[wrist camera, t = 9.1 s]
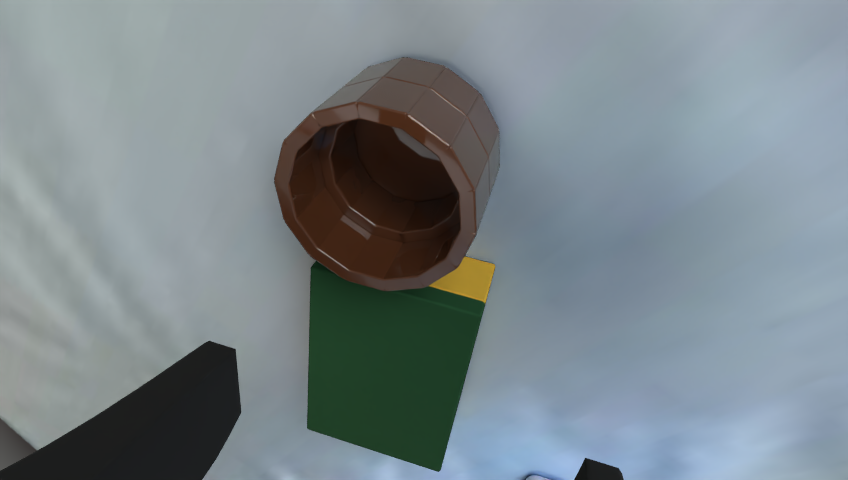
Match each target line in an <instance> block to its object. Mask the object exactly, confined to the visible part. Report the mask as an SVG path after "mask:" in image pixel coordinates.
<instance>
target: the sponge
mask: <svg viewBox="0 0 848 480" xmlns="http://www.w3.org/2000/svg"><path fill="white" fill-rule="evenodd" d="M494 270H495V265H494V264H491V263H488V262H484V261H480V260H477V259H473V258H469V257H464V258H463V260H462V262H461V264H460V266H459V267H458V268H457V269H455V270H454V271H452V272H450V273H449V274H447V275H445V276H444V277H442V278H441V279H439V280H437V281H436V282H434V283H432V284H431V285H429V286H427V287H424V288H419V289H408V290H397V291H381V290H377V289H374V288H370V287H367V286H363V285H360V284H356V283H353V282H349V281H346V280H345V279H342V278H341V277H339V276H338V275H337V274H335V273H334V272H332V271H331V270H329V269H328V268H326V267H325V266H324V265H322V264H321V263H319V262H318V261H315V263H314V264H313V266H312V267H311V282H310V327H309V371H308V415H307V428H308V429H309V430H312V431H315V432H318V433H321V434H324V435H327V436H331V437H334V438H337V439H340V440H343V441H346V442H349V443H352V444H355V445H358V446H361V447H364V448H367V449H370V450H373V451H376V452H379V453H382V454H386V455H389V456H392V457H395V458H398V459H401V460H404V461H407V462H410V463H413V464H416V465H419V466H422V467H425V468H428V469H431V470H434V471H437V472H439V471H440V470H441V467H442V463H443V459H444V455H445V452H446V448H447V444H448V441H449V437H450V433H451V429H452V426H453V422H454V418H455V415H456V411H457V407H458V403H459V400H460V396H461V392H462V389H463V385H464V381H465V377H466V374H467V370H468V366H469V363H470V359H471V355H472V352H473V348H474V344H475V340H476V337H477V333H478V329H479V326H480V322H481V318H482V314H483V311H484V307H485V303H486V299H487V296H488V292H489V288H490V285H491V281H492V277H493V273H494Z"/></svg>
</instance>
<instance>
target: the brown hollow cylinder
mask: <svg viewBox="0 0 848 480" xmlns="http://www.w3.org/2000/svg"><path fill="white" fill-rule="evenodd" d="M499 167H500V150H499V128H498V126H497V124H496V122H495V120H494V118H493V116H492V114H491V113H490V111H489V109H488V107H487V105H486V103H485V101H484V99H483V97H482V95H481V94H479V93H478V91H477V90H476V89H474V88H473V87H472V86H470V85H469V84H468V83H467V82H465V81H464V80H463V79H461V78H460V77H459V76H458V75H456V74H455V73H454V72H452V71H451V70H450V69H449V68H445V66H443V65H439V64H434V63H430V62H425V61H421V60H416V59H412V58H407V57H406V58H405V57H402V58H398V59H395V60H391V61H387V62H383V63H380V64H376V65H372V66H369V67H367V68H366V69H364V70H363V71H362V72H361V73H359V74H358V75H357V76H356V77H354V78H353V79H352V80H351V81H349V82H348V83H347V84H346V85H345V86H343V87H342V88H341V89H340V90H338V91H337V92H336V93H335V94H333V95H332V96H331V97H330V98H328V99H327V100H326V101H325V102H324V103H322V104H321V105H320V106H319V107H317V108H316V109H315V110H314V111H313V112H311V113H310V114H309V115H308V116H307V117H306V118H305V119H304V120H303V121H302V122H301V123H300V124H299V125H298V126H297V127H296V128H295V129H294V130H293V131H292V132H291V133H290V134H289V135H288V136H287V137H286V138H285V139H284V142H283V143H282V147H281V152H280V156H279V160H278V165H277V169H276V173H275V178H274V180H275V181H274V183H275V187H276V191H277V195H278V199H279V203H280V207H281V211H282V215H283V219H284V220H285V223H286V224H287V226H288V227H289V228H290V230H291V231H292V233H293V234H294V235H295V237H296V238H297V239H298V241H299V242H300V244H301V245H302V246H303V248H304V249H305V250H306V252H307V253H308V254H309V255H310V256H311V257H312V258H314V259H315V260H316V261H318V262H319V263H321V264H322V265H324V266H325V267H326V268H328V269H329V270H331V271H332V272H334V273H335V274H337V275H338V276H339V277H341V278H342V279H345V280H346V281H349V282H353V283H356V284H360V285H363V286H367V287H370V288H374V289H377V290H381V291H397V290H408V289H419V288H424V287H427V286H429V285H431V284H432V283H434V282H436V281H437V280H439V279H441V278H442V277H444V276H445V275H447V274H449V273H450V272H452V271H454V270H455V269H457V268H458V267H459V266H460V264H461V262H462V260H463V258H464V257H465V255H466V253H467V251H468V249H469V247H470V246H471V244H472V242H473V240H474V238H475V236H476V234H477V231H478V229H479V226H480V223H481V220H482V217H483V214H484V211H485V208H486V205H487V202H488V199H489V197H490V194H491V191H492V188H493V185H494V182H495V179H496V176H497V174H498V171H499Z"/></svg>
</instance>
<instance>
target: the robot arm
mask: <svg viewBox="0 0 848 480" xmlns="http://www.w3.org/2000/svg"><path fill="white" fill-rule="evenodd" d="M240 414H241V404H240V393H239V382H238V371H237V360H236V349H233V348H230V347H227V346H224V345H221V344H217V343H214V342H211V341H208V342H206V343H204V344H203V345H201V346H200V347H198V348H197V349H195V350H194V351H192V352H191V353H189V354H188V355H187V356H185V357H184V358H182V359H181V360H179V361H178V362H176V363H175V364H173V365H172V366H171V367H169V368H168V369H166V370H165V371H163V372H162V373H160V374H159V375H157V376H156V377H154V378H153V379H151V380H150V381H148V382H147V383H146V384H144V385H143V386H141V387H140V388H138V389H137V390H135V391H133V392H132V393H130V394H129V395H127V396H126V397H124V398H123V399H121V400H120V401H118V402H117V403H115V404H113V405H112V406H110V407H109V408H107V409H106V410H104V411H103V412H101V413H100V414H98V415H96V416H95V417H93V418H92V419H90V420H88V421H87V422H85V423H83V424H82V425H80V426H78V427H77V428H75V429H73V430H72V431H70V432H68V433H67V434H65V435H63V436H62V437H60V438H58V439H57V440H55V441H53V442H52V443H50V444H48V445H46V446H45V447H43V448H41V449H39V450H38V451H36V452H34V453H33V454H31V455H29V456H27V457H25V458H23V459H21V460H20V461H18V462H16V463H14V464H12V465H10V466H9V467H7V468H5V469H3V470H1V471H0V480H202V479H203V478H204V476H205V475H206V473H207V472H208V470H209V469H210V467H211V466H212V464H213V463H214V461H215V460H216V458H217V457H218V455H219V453H220V451H221V449H222V448H223V446H224V444H225V442H226V440H227V439H228V437H229V435H230V433H231V431H232V429H233V427H234V425H235V423H236V422H237V420H238V418H239V416H240ZM526 480H550V479H547V478H544V477H541V476H536V475H533V476H529V477H528V478H527V479H526ZM574 480H623V476H622V473H621V471H620V470H619V468H616V467H613V466H610V465H606V464H603V463H600V462H597V461H594V460H590V459H587V458H585V460H584V462H583V464H582V466H581V468H580V470H579V472H578V474H577V476H576V478H575V479H574Z"/></svg>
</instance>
